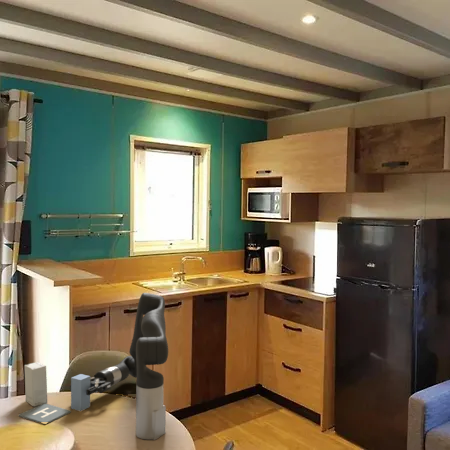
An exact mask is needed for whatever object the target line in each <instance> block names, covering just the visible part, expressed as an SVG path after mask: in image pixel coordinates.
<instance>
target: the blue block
mask: <svg viewBox="0 0 450 450" xmlns="http://www.w3.org/2000/svg"><path fill="white" fill-rule="evenodd" d="M90 378H91V376H90V375H86V374H83V373H79V374H77V375H75V376H71V378H70V382H71V383H70V386H71V391H70V409H71V410H74V409H75V410H74V411H79V412H83V411H84V410H86V409H88V408H90V407H91V394H90V395H86V390H87V389H89V388H90Z"/></svg>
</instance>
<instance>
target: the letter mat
mask: <svg viewBox="0 0 450 450" xmlns="http://www.w3.org/2000/svg"><path fill="white" fill-rule="evenodd" d="M71 412H72V410H70V409H67V408H62V407H59V406H56V405H52V404H49V403H44V404H42V405H37V406H34V407H33V408H30V409H28V410H26V411H24V412H22V413H19V414H18V417H20V418H24V419H26V420H29V421H32V422H35V421H36V422H35V423H38V422H50V423H51V422H52V423H53V422H54V421H56V420H58V419H60V418H61V417H64V416H66V415H68V414H70V413H71Z"/></svg>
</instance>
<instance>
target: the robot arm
mask: <svg viewBox="0 0 450 450" xmlns="http://www.w3.org/2000/svg"><path fill="white" fill-rule="evenodd" d="M165 306H166V301H165V298H164V297H163V296H161V295H158V294H154V293H149V292H143V293H142V294H140V297H139V300H138V304H137V309H136V314H135V321H134V327H133V328H134V329H133V334H132V340H131V343H130V347H129V355H128V356H125V357H124V358H123V359H122V360H121V361H120V362H119V363H117V364H115V365H113V366H109V367H106V368H104V369H102V370H99V371H97V372H95V374H94V375H93V377H90V388H89V389H87V390H86V395H90V396H91V395H93V394H94V393H95V394H97V393H99V394H102V393H105V392H106V391H108V390H110V389H111V387H113V386H115V385H117V384H118V383H120V382H122V381H124V380H126V379H128V377H129V375H130V376H132V377H133V378H136V387H135V388H136V392H135V395H136V396H135V398H136V400H135V402H136V404H135V436H136V437H137V438H139V439H141V440H154V441H155V440H157V439H158V438H160V437H162V436H163V435H164V434H166V423H167V422H166V416H167V415H166V414H167V413H166V411H167V409H166V404H165V405H164V385H165V384H164V375H163V374H162V373H161V372H158V371H157V370H156V371H155V370H153V369H150V368H149V367H148V366H156V365H159V366H160V365H163V364H165V363H166V362H167V361H168V359H169V358H168V357H169V345H168V340H167V336H166V335H167V334H166V326H167V325H166V319H165V309H166V308H165ZM69 390H70V392H71V385H69Z"/></svg>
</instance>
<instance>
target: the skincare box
mask: <svg viewBox="0 0 450 450" xmlns="http://www.w3.org/2000/svg"><path fill="white" fill-rule="evenodd" d="M47 381H48V379H47V365H45V364H43V363H41V362H39V361H37V362H31V363H28V364H24V385H25V386H24V387H25V390H24V391H25V394H24V396H25V402H26V403H28V404H30V405H31V406H32V407H37V406H39V405H42V404H44V403H46V404H48V383H47Z"/></svg>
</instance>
